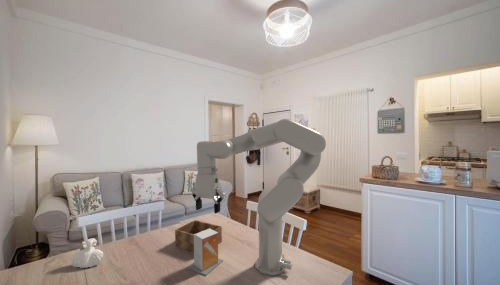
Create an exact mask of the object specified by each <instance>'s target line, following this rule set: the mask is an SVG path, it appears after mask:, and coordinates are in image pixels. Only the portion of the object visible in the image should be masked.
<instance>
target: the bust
mask: <svg viewBox="0 0 500 285" xmlns="http://www.w3.org/2000/svg"><path fill="white" fill-rule="evenodd" d="M81 243H82V248H83V250H79V251H78V252H75V253H73V255H72V256H71V265H72V267H74V268H78V267H80V268H79V269H85V268H87V269H88V267H90V268H92V267H94V266H98V265H100V264H101V261H102V259H103V257H104V252H103V251H102V250H100V249H97V248H95V247H94V246H97V243H98V240H97V239H96V238H94V237H93V238H89V239H86V240H84V241H82V242H81Z"/></svg>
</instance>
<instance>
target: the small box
mask: <svg viewBox="0 0 500 285" xmlns="http://www.w3.org/2000/svg"><path fill="white" fill-rule="evenodd" d="M193 259H194V260H193V263H194V265H195V266H197V267H198V268H199V269H201V270H202V271H203V270H205V269H207V268H209V267H210V266H212V265H214V264H216V263H218V259H219V244H218V232H216V231H214V230H212V229H210V228H209V229H207V230H204V231H201V232H199V233H197V234H194V252H193Z"/></svg>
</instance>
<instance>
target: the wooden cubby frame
mask: <svg viewBox="0 0 500 285" xmlns="http://www.w3.org/2000/svg"><path fill="white" fill-rule="evenodd" d="M209 228H210V229H212V230H214V231H216V232H218V245H219V244H221V243H222V242H223V236H222V234H223V229H222V228H223V227H222V226H221V225H217V224H213V223H210V222H205V221H200V220H196V219H194V220H192V221H190V222H188V223H186V224H185V225H183V226H180V227H178V228H175V229H174V237H175V238H174V239H175V240H174V241H175V247H177V248H180V249H183V250H187V251H189V252H193V253H194V234H197V233H199V232H201V231H204V230H207V229H209Z"/></svg>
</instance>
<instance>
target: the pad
mask: <svg viewBox="0 0 500 285" xmlns="http://www.w3.org/2000/svg"><path fill="white" fill-rule="evenodd" d="M223 261H224V260H223V259H221V258H218V263H216V264H214V265H212V266H210V267H209V268H207V269H205V270H203V271H202V270H201V269H199V268H198V267H197V266H195V265H194V262H192V263H191V264H189V265H188V266H187V267H186V268H187V270H189V271H193V272H195V273H198V274H200V275H203V276H205V277H206V276H208V275H209V274H210V273H212V272H213V271H214V270H215V269H216V268H217V267H218V266H219V265H220V264H222V263H223Z"/></svg>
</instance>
